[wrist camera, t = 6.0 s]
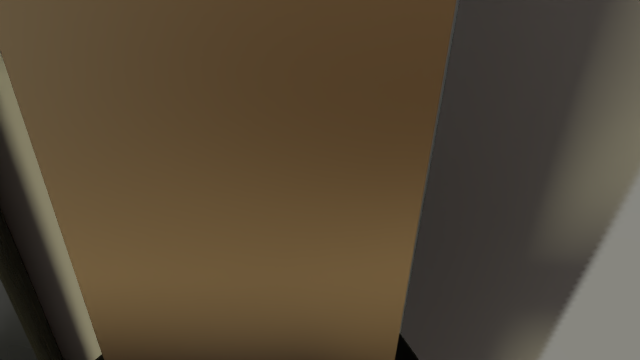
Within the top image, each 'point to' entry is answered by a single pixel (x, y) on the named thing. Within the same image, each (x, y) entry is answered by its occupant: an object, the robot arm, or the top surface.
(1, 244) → the rack
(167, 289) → the rail
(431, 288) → the top surface
